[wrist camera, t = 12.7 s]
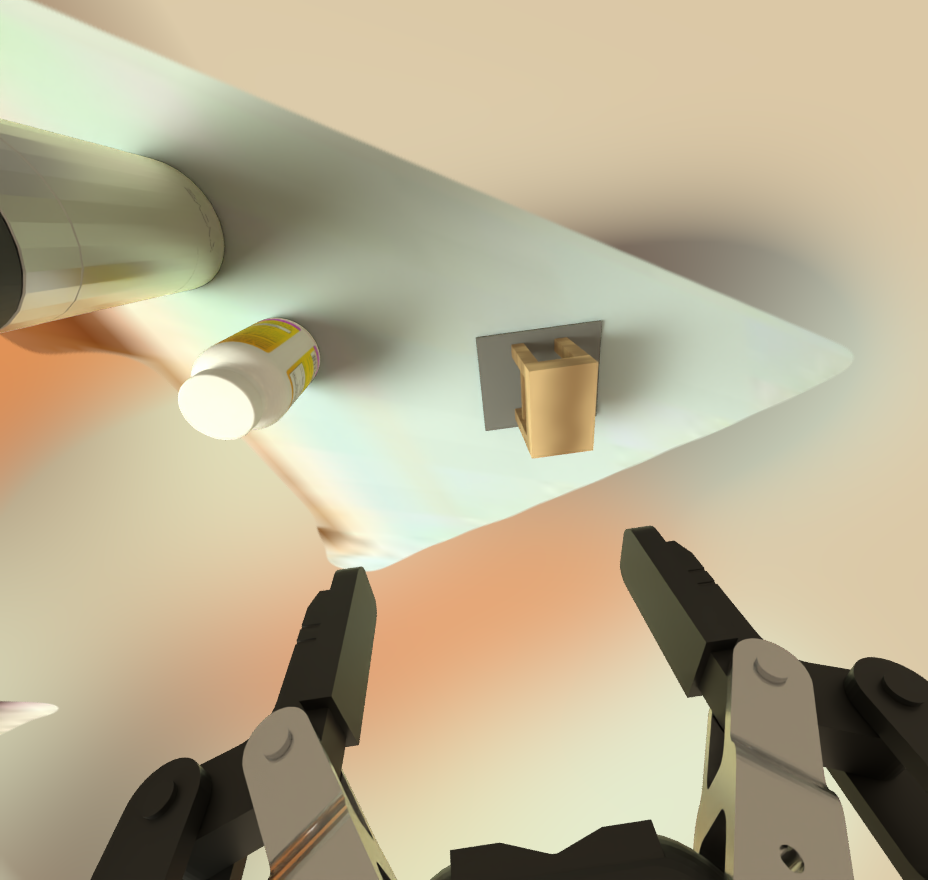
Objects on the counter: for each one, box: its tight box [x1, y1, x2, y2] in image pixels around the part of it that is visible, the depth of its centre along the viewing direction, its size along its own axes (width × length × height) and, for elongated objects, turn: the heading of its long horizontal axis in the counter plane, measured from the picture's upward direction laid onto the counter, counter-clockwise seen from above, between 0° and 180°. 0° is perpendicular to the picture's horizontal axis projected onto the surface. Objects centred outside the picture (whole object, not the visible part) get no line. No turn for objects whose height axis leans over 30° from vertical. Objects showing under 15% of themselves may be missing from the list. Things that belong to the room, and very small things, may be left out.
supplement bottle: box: [178, 318, 320, 440], centre depth 30 cm, size 7×7×13 cm
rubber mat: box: [476, 321, 602, 431], centre depth 38 cm, size 12×10×1 cm
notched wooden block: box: [511, 337, 598, 458], centre depth 34 cm, size 5×8×8 cm
